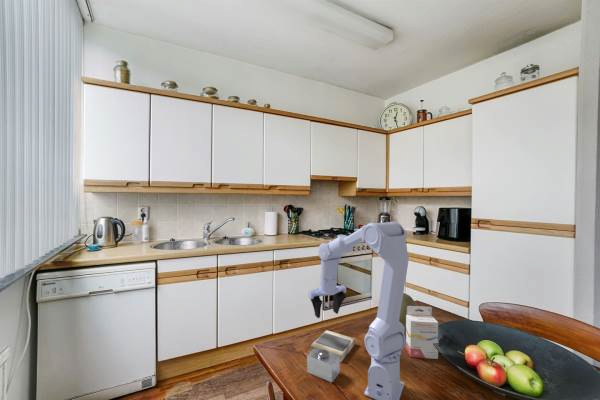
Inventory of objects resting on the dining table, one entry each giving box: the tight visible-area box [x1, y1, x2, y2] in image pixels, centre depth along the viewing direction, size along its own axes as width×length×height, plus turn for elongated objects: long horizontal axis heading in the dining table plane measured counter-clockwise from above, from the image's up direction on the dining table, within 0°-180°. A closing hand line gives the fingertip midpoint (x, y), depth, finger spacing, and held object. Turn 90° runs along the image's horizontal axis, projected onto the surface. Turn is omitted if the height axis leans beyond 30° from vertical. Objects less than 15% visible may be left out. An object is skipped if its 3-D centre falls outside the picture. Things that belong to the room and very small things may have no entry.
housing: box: [306, 347, 340, 383], centre depth 75 cm, size 5×8×6 cm, turn 57°
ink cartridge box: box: [405, 305, 439, 360], centre depth 83 cm, size 9×5×15 cm, turn 84°
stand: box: [309, 329, 356, 363], centre depth 87 cm, size 12×11×2 cm
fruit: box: [399, 292, 419, 336], centre depth 97 cm, size 11×11×15 cm
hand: (326, 314), depth 90 cm, fingers open, 7 cm apart
